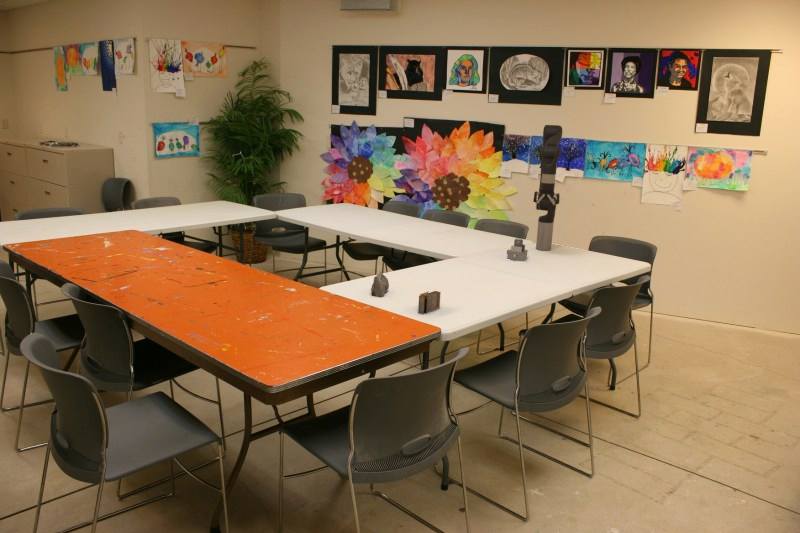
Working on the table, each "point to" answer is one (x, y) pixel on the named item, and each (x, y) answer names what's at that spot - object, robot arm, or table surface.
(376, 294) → the mineral rock
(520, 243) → the pump
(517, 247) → the motor
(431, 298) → the brown flat block
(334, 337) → the table surface
